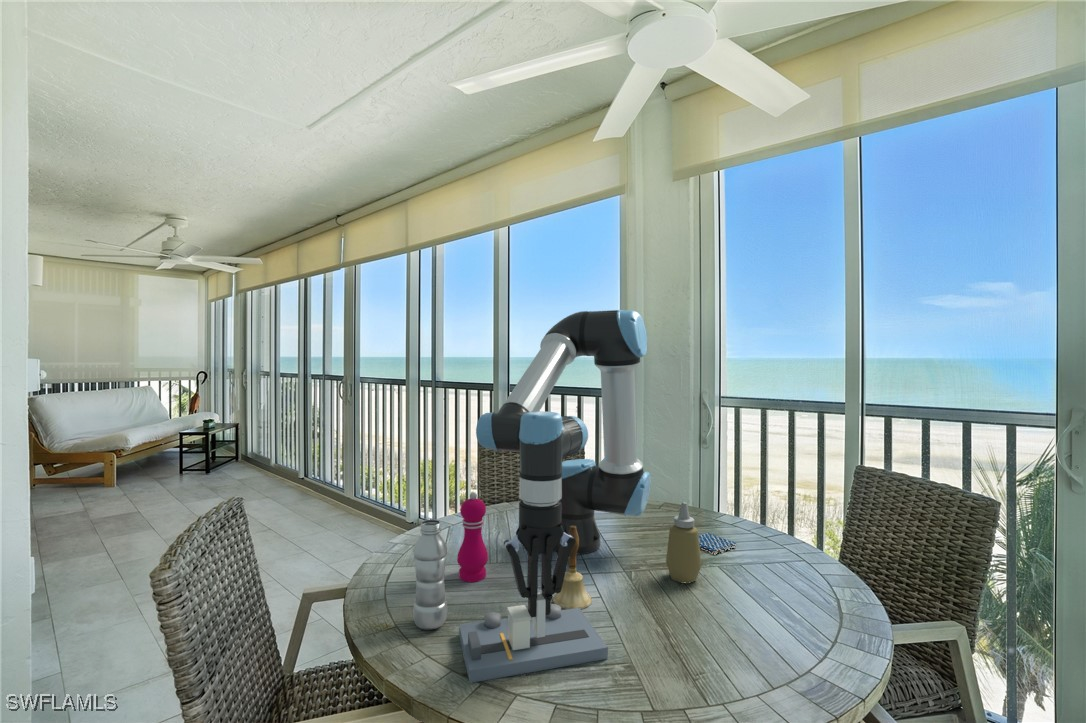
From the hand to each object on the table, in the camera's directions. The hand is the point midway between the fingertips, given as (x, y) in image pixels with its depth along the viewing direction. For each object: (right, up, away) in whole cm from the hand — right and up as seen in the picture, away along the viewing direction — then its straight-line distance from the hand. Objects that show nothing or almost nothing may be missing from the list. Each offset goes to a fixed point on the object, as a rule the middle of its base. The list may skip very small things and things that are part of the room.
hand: (538, 632), depth 88 cm
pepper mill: (-16, -3, +30) cm, 34 cm away
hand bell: (+7, -4, +19) cm, 20 cm away
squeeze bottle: (+34, -4, +30) cm, 45 cm away
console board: (-2, -3, +2) cm, 4 cm away
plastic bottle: (-21, -3, +9) cm, 23 cm away
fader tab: (-4, -1, -1) cm, 4 cm away
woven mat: (+48, -4, +51) cm, 70 cm away
